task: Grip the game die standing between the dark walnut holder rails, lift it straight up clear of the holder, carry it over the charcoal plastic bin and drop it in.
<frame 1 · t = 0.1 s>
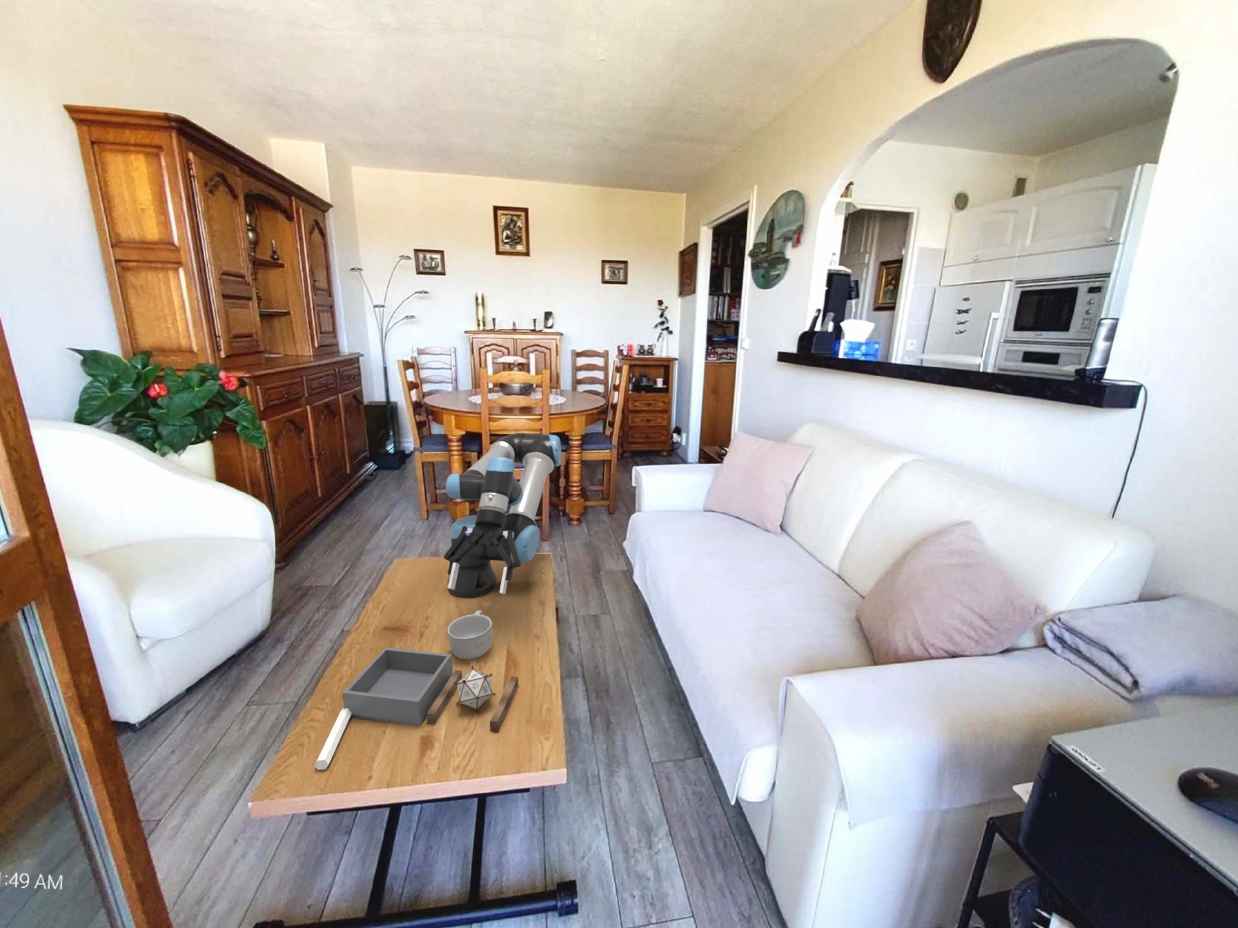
hand: (476, 591, 125), 15 cm above the table, tool tilted 35°, fingers open, 13 cm apart
bin: (402, 695, 110), on the table
holder: (475, 703, 108), on the table
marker: (337, 736, 98), touching bin
game die: (475, 704, 108), on the table
teacup: (473, 649, 127), on the table
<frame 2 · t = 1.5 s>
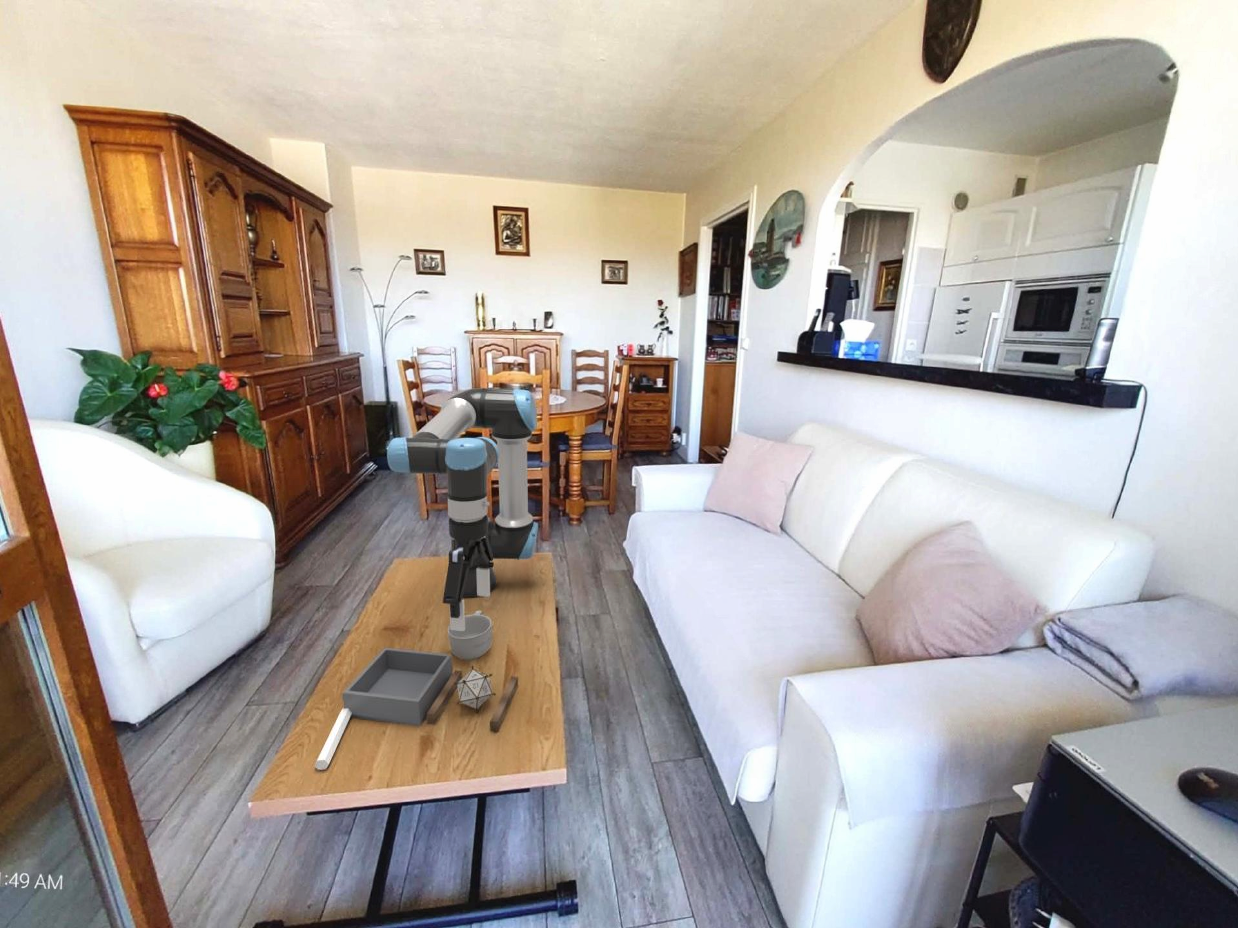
hand: (471, 611, 103), 23 cm above the table, tool pointing down, fingers open, 13 cm apart
nothing on the table moved.
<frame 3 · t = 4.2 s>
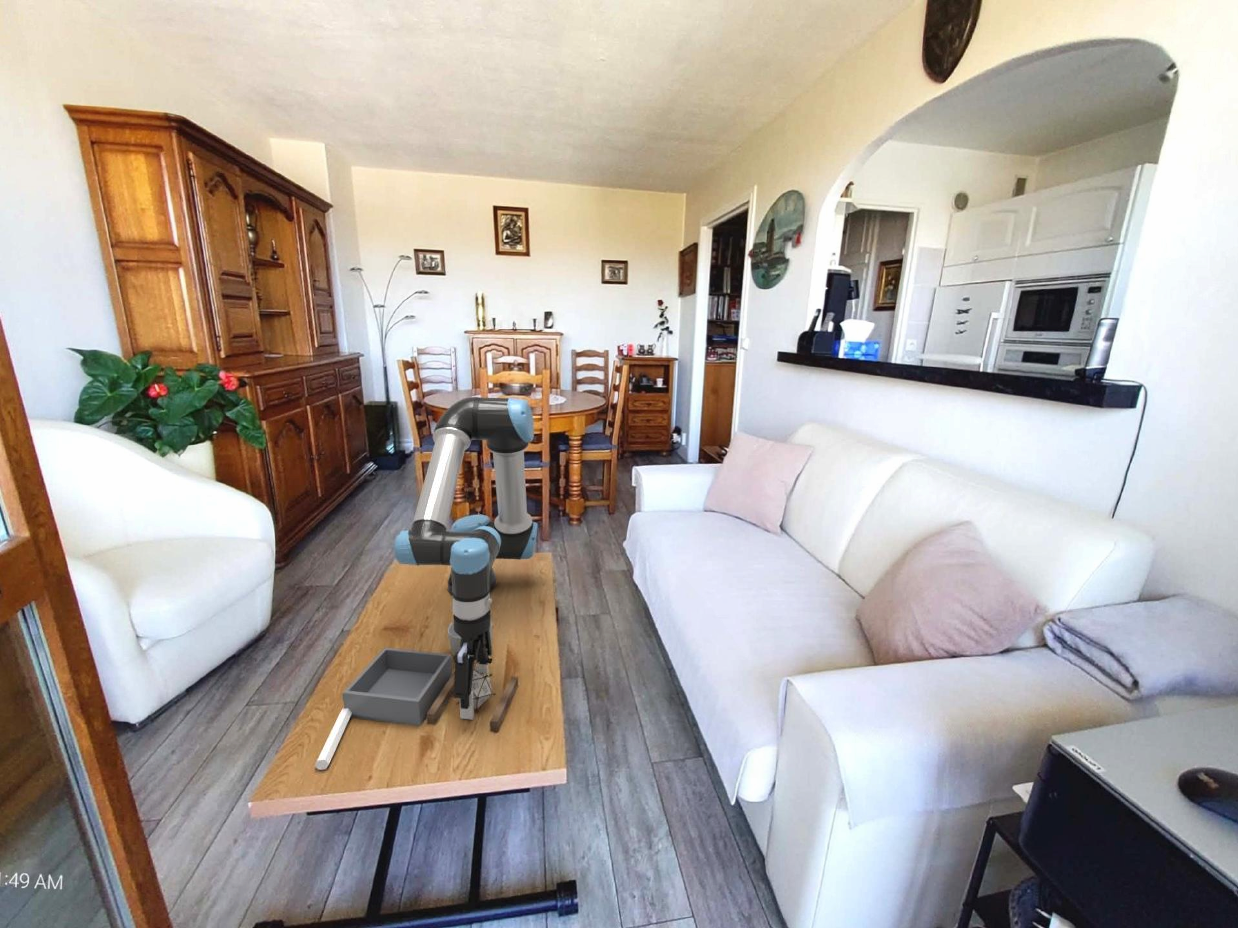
hand: (475, 702, 108), 0 cm above the table, tool pointing down, fingers closed on game die, 8 cm apart
game die: (475, 704, 108), on the table, touching gripper
everything else where it was.
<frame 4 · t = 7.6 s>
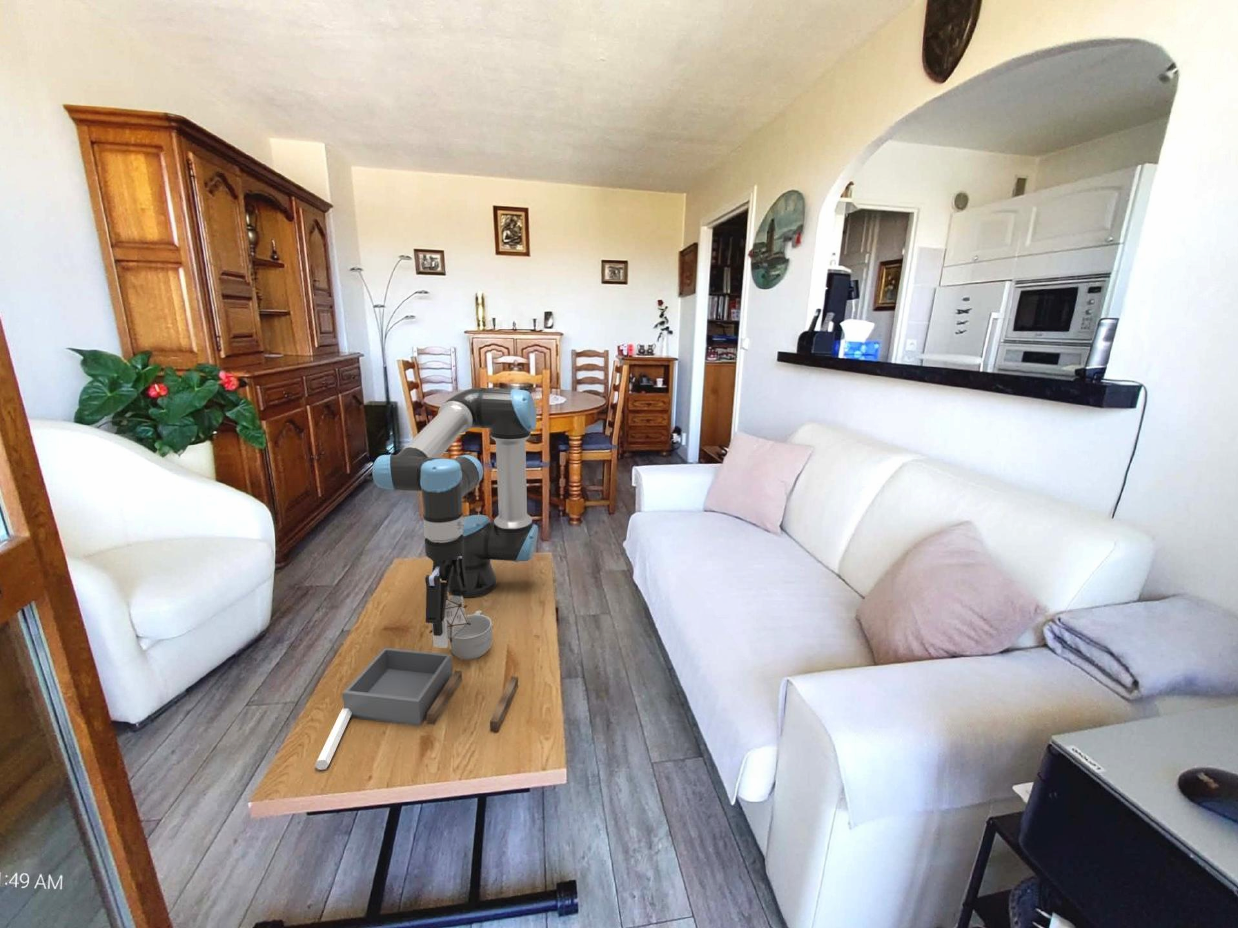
hand: (449, 633, 105), 17 cm above the table, tool pointing down, fingers closed on game die, 8 cm apart
game die: (449, 635, 105), point 16 cm above the table, touching gripper
everything else where it was.
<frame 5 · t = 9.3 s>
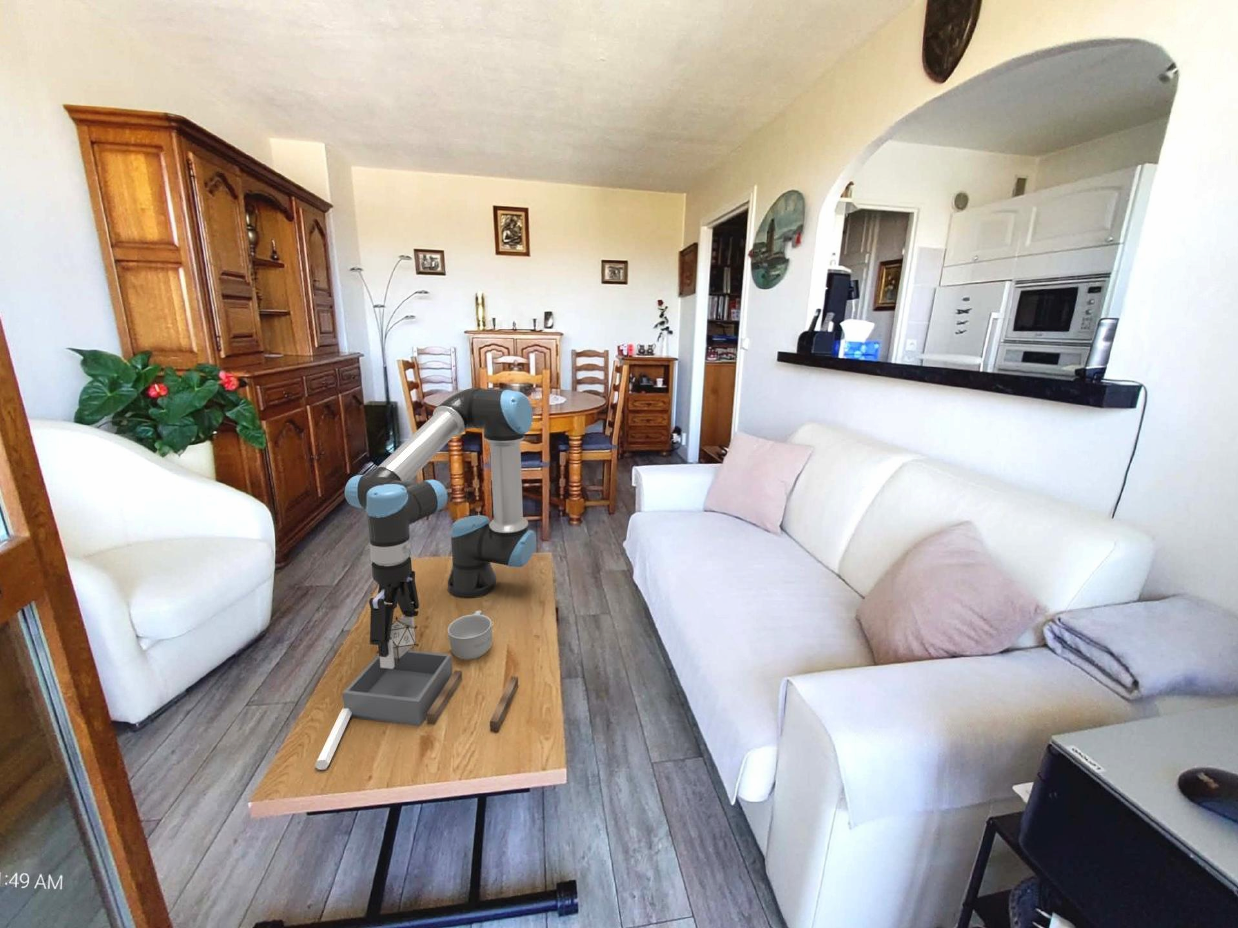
hand: (398, 654, 107), 11 cm above the table, tool pointing down, fingers closed on game die, 8 cm apart
game die: (398, 656, 107), point 10 cm above the table, touching gripper
everything else where it was.
when the fingers open (7 cm above the table, at t = 10.6 s): game die drops 5 cm, resting on bin.
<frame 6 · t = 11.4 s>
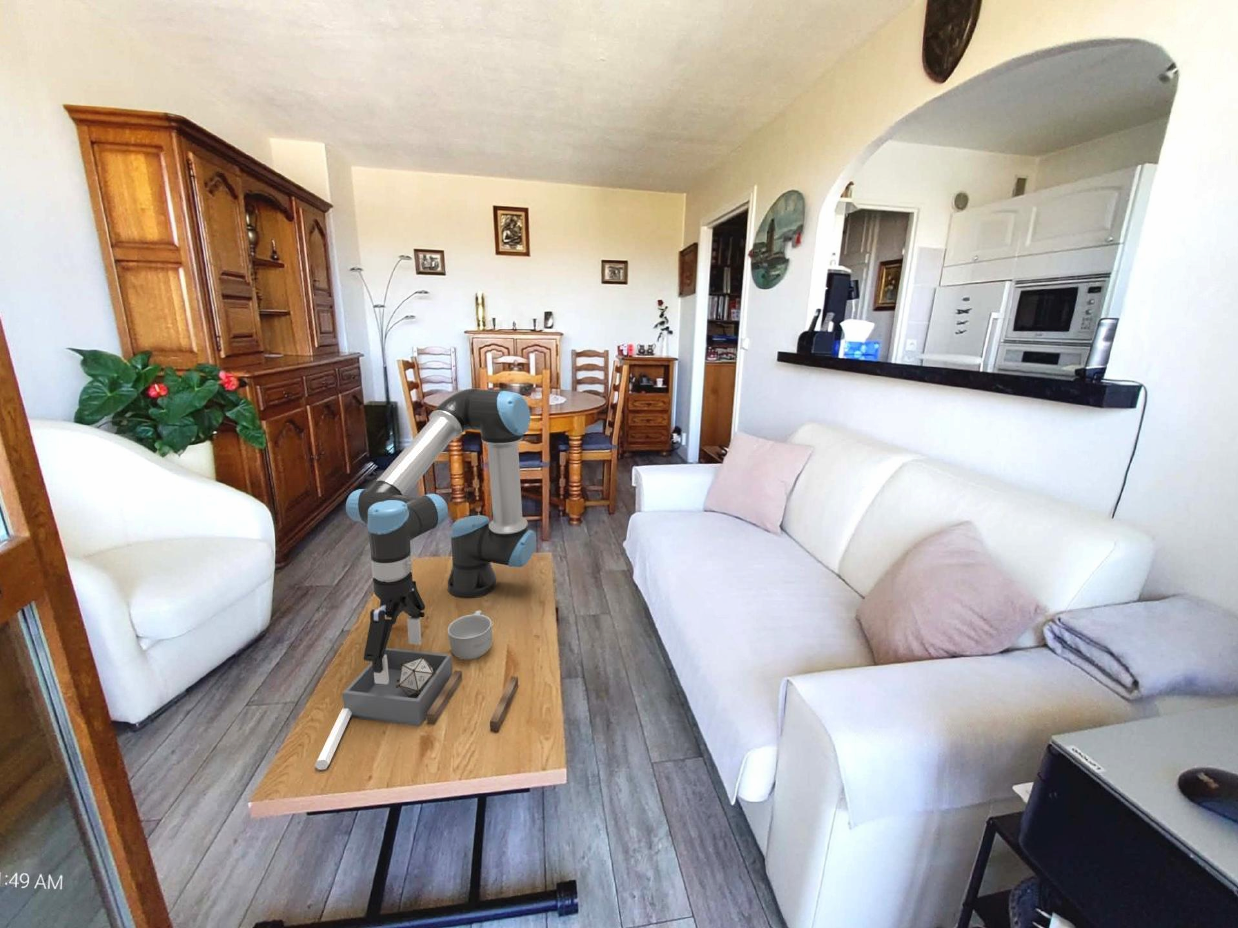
hand: (399, 661, 108), 9 cm above the table, tool pointing down, fingers open, 13 cm apart
game die: (407, 688, 109), point 2 cm above the table, touching bin
everything else where it was.
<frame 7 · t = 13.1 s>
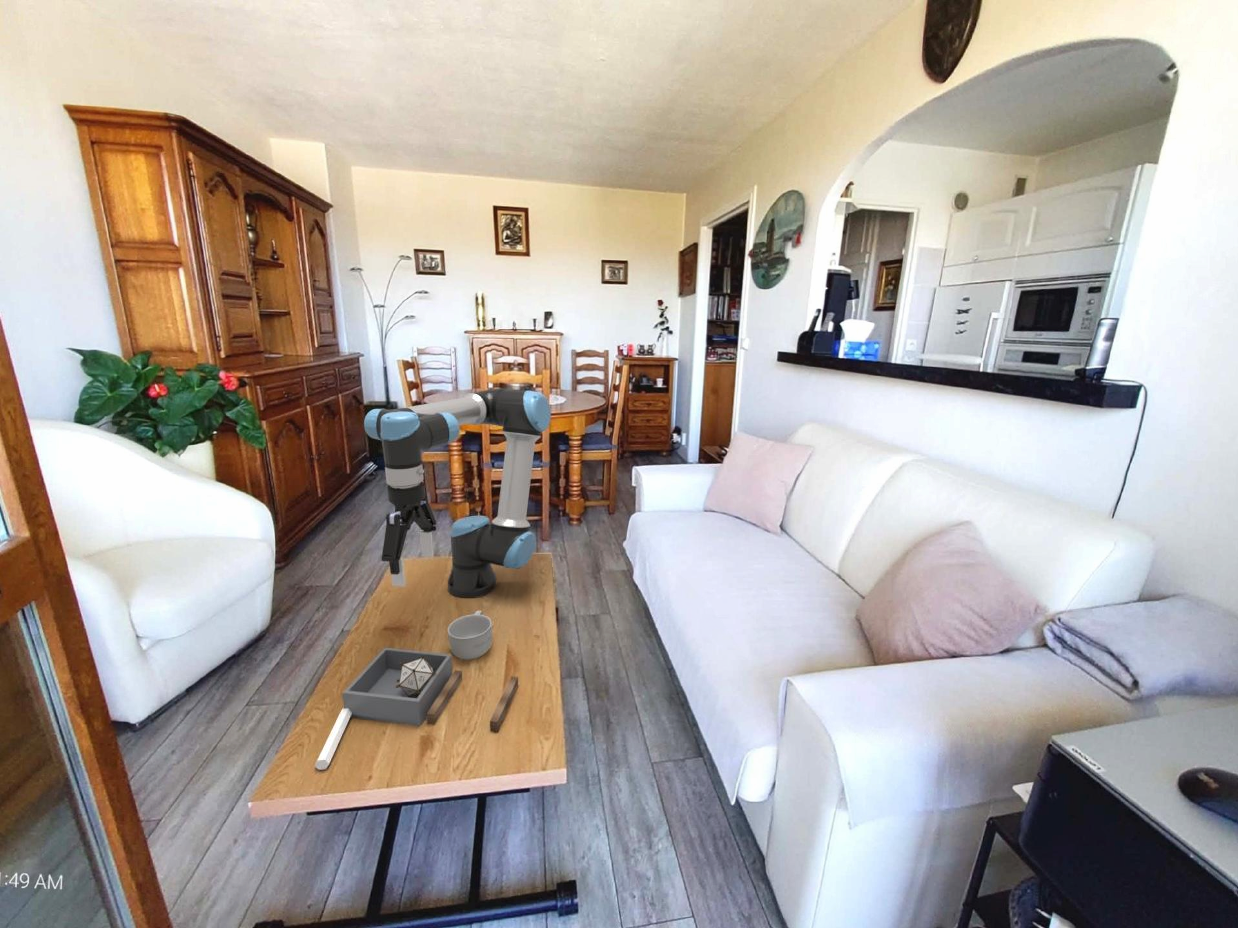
hand: (414, 570, 113), 26 cm above the table, tool pointing down, fingers open, 13 cm apart
nothing on the table moved.
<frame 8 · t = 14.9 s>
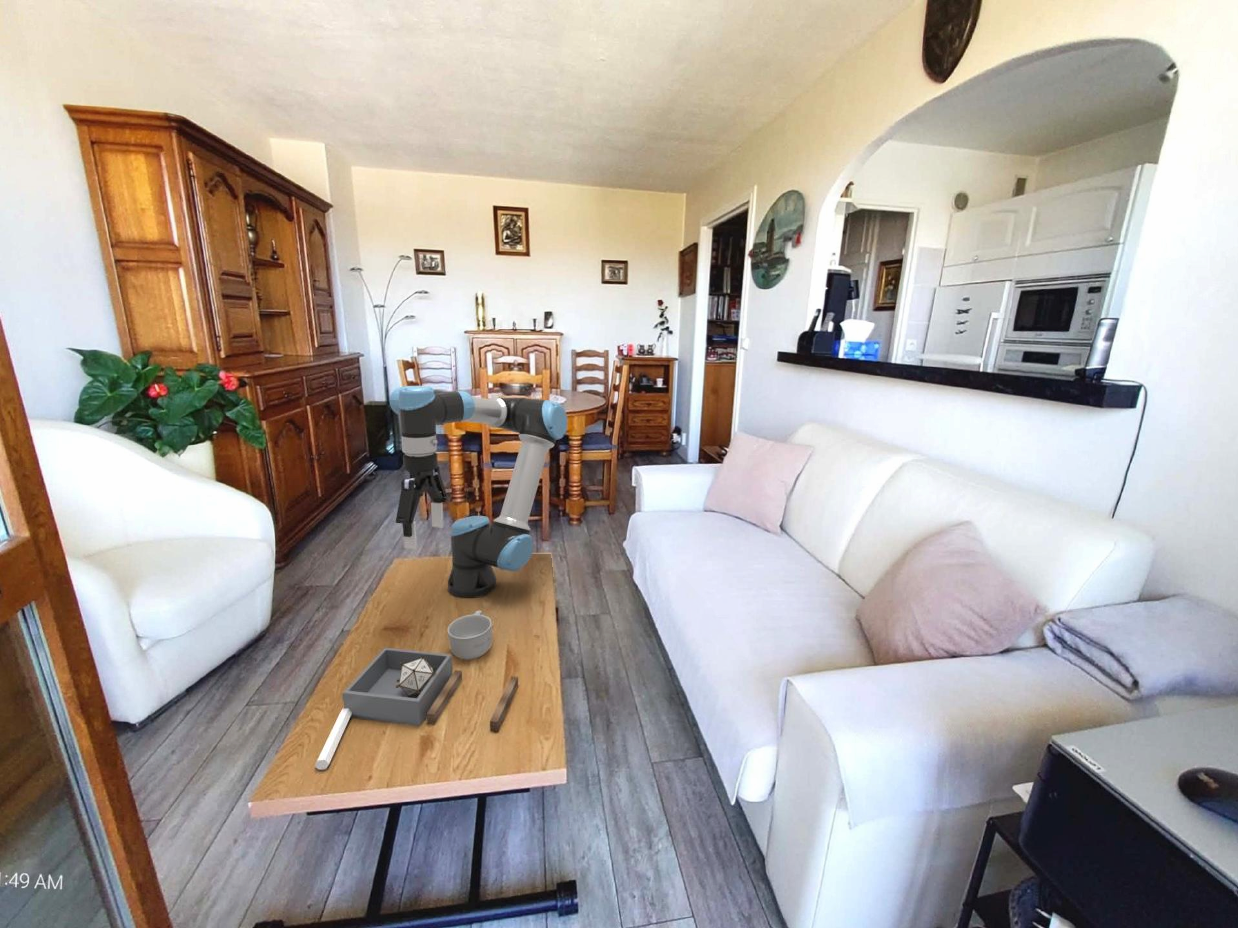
hand: (425, 537, 120), 31 cm above the table, tool pointing down, fingers open, 13 cm apart
nothing on the table moved.
at the end: game die inside the target area on the bin (1.2 cm from its centre), point 1.7 cm above the bin's base; game die moved 15.9 cm from its start; the gripper is holding nothing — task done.
